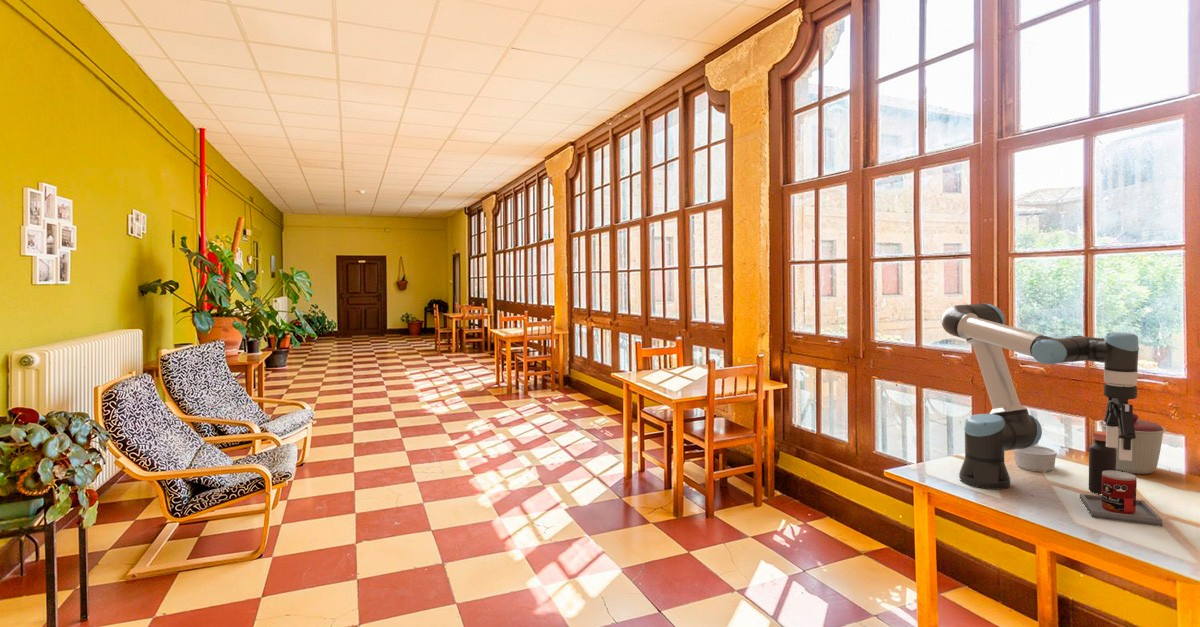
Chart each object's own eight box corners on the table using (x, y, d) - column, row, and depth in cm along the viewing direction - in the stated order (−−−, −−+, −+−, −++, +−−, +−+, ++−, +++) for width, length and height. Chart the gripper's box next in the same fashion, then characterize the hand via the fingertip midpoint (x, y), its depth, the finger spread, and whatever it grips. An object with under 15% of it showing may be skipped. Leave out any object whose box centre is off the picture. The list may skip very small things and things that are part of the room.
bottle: (1084, 491, 195) (1085, 432, 194) (1093, 487, 199) (1094, 429, 198) (1110, 497, 189) (1111, 436, 188) (1118, 493, 193) (1120, 433, 192)
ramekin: (1008, 467, 221) (1008, 449, 221) (1018, 459, 230) (1018, 442, 229) (1051, 475, 211) (1051, 456, 211) (1060, 467, 220) (1060, 449, 219)
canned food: (1094, 505, 182) (1095, 471, 181) (1117, 503, 182) (1118, 469, 182) (1118, 515, 174) (1119, 479, 173) (1143, 513, 175) (1143, 477, 174)
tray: (1092, 517, 175) (1092, 510, 175) (1079, 499, 189) (1079, 493, 189) (1162, 526, 168) (1162, 519, 168) (1143, 506, 181) (1143, 500, 181)
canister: (1154, 481, 202) (1155, 421, 201) (1089, 468, 217) (1090, 412, 216) (1173, 471, 211) (1174, 413, 210) (1110, 459, 227) (1110, 405, 225)
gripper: (1151, 393, 163) (1149, 467, 165) (1123, 377, 185) (1121, 443, 187) (1116, 391, 167) (1114, 464, 168) (1093, 376, 189) (1091, 441, 190)
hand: (1118, 453), depth 178 cm, fingers open, 13 cm apart
